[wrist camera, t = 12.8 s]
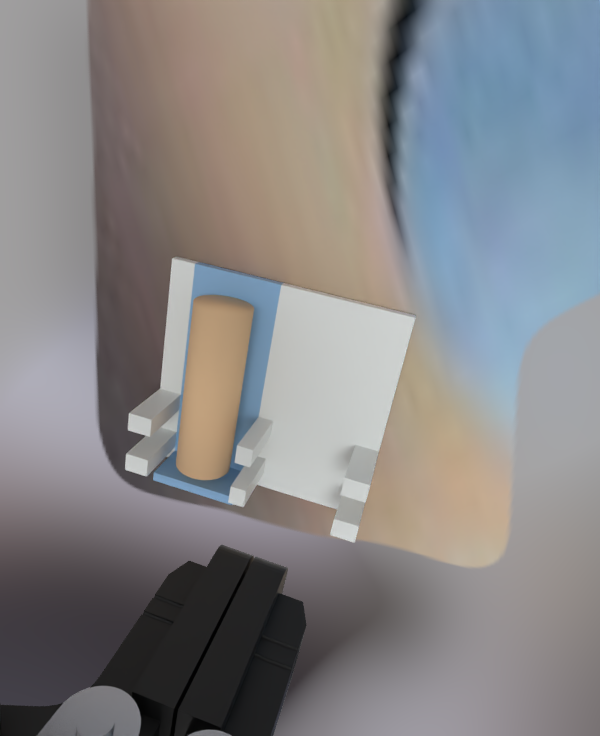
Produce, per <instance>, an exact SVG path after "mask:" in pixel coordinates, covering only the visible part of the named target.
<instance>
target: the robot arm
mask: <svg viewBox="0 0 600 736" xmlns="http://www.w3.org/2000/svg"><path fill="white" fill-rule="evenodd" d="M287 571H288V568H286V567H284V566H281V565H278V564H275V563H272V562H269V561H267V560H264V559H261V558H258V557H255V558H254V557H253V556H252V555H249V554H246V553H244V552H241V551H238V550H235V549H232V548H229V547H227V546H224V545H221V546H220V547H219V548H218V549H217V551H216V553H215V554H214V556H213V557H212V559H211V561H210V563H209V564H208V566H207V567H205V566H202V565H200V564H197V563H194V562H191V561H188V562H187V563H185V564H184V565H182V566H181V567H179V568H178V569H176V570H175V571H173V572H172V573H170V574H169V575H168V576H167V578H166V579H165V581H164V582H163V584H162V585H161V587H160V588H159V590H158V591H157V592H156V594H155V597H154V598H152V600H151V601H150V603H149V604H148V606H147V607H146V609H145V610H144V613H143V615H141V616H140V618H139V619H138V621H137V622H136V624H135V625H134V627H133V628H132V629H131V631H130V633H129V634H128V635H127V637H126V638H125V640H124V641H123V643H122V644H121V646H120V647H119V649H118V650H117V652H116V653H115V655H114V656H113V658H112V659H111V661H110V662H109V664H108V665H107V667H106V668H105V669H104V671H103V672H102V674H101V675H100V677H99V678H98V679H97V681H96V682H95V683H94V684H93V685H92V686H91V687H90V688H87V689H84V690H82V691H80V692H78V693H76V694H75V695H73V696H71V697H70V698H69V699H68V700H66V701H65V702H64V703H61V704H58V705H52V706H40V707H39V706H14V705H0V736H273V735H274V731H275V728H276V725H277V721H278V719H279V716H280V712H281V709H282V706H283V703H284V700H285V697H286V693H287V690H288V687H289V684H290V681H291V678H292V674H293V671H294V667H295V664H296V660H297V656H298V653H299V649H300V646H301V642H302V639H303V635H304V632H305V628H306V620H305V613H304V606H303V602H302V601H299V600H296V599H293V598H291V597H288V596H285V595H283V594H282V592H283V588H284V584H285V580H286V575H287Z"/></svg>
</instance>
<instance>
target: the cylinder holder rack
mask: <svg viewBox="0 0 600 736" xmlns="http://www.w3.org/2000/svg"><path fill="white" fill-rule="evenodd" d="M202 295H223V296H229V297H234V298H238V299H241V300H244V301H246V302H248V303H250V304H251V305H252V306H253V307H254V313H253V320H252V326H251V333H250V339H249V346H248V352H247V359H246V365H245V372H244V379H243V385H242V392H241V398H240V405H239V411H238V418H237V424H236V431H235V437H234V444H233V450H232V457H231V464H230V469H229V471H228V473H227V474H226V475H224V476H223V477H221V478H218V479H214V480H198V479H193V478H190V477H188V476H186V475H184V474H182V473H181V472H180V471H179V470H178V469H177V467H176V457H177V448H178V438H179V429H180V420H181V411H182V401H183V392H184V383H185V374H186V364H187V355H188V346H189V337H190V327H191V318H192V309H193V300H194V299H195V298H196V297H198V296H202ZM415 318H416V315H413V314H409V313H405V312H401V311H397V310H393V309H388V308H384V307H380V306H376V305H372V304H368V303H364V302H360V301H356V300H352V299H348V298H344V297H340V296H335V295H331V294H327V293H323V292H319V291H315V290H311V289H307V288H303V287H299V286H295V285H291V284H287V283H283V282H278V281H274V280H270V279H266V278H262V277H258V276H254V275H250V274H246V273H242V272H238V271H234V270H230V269H225V268H221V267H217V266H213V265H209V264H205V263H201V262H197V261H193V260H189V259H185V258H181V257H174V258H172V266H171V277H170V288H169V299H168V310H167V321H166V332H165V342H164V353H163V364H162V375H161V386H160V389H159V390H158V391H156V392H155V393H154V394H153V395H151V396H150V397H149V398H148V399H146V400H145V401H144V402H142V403H141V404H140V405H139V406H137V407H136V408H135V409H134V410H132V411H131V412H130V413H129V420H128V430H129V431H132V432H135V433H139V434H142V435H145V437H144V438H143V439H142V440H141V441H140V442H139V443H137V444H136V445H135V446H134V447H133V448H132V449H131V450H130V451H129V452H127V453H126V463H125V470H128V471H131V472H134V473H137V474H140V475H143V476H146V477H147V476H148V475H149V474H150V472H151V471H152V470H153V469H154V468H155V467H156V466H157V465H158V464H159V463H160V462H161V461H162V460H163V459H164V458H165V457H168V458H167V459H166V460H165V461H164V462H163V463H162V464H161V466H160V467H159V468H158V469H157V470H156V471H155V472H154V477H153V480H154V481H157V482H161V483H164V484H167V485H170V486H173V487H176V488H179V489H183V490H186V491H189V492H192V493H195V494H198V495H201V496H205V497H208V498H211V499H214V500H217V501H220V502H223V503H227V504H230V505H232V504H234V505H238V506H241V507H244V505H245V504H246V502H247V500H248V499H249V497H250V495H251V494H252V492H253V490H254V489H255V487H256V485H259V486H263V487H266V488H269V489H272V490H275V491H279V492H282V493H285V494H288V495H292V496H295V497H298V498H301V499H304V500H308V501H311V502H314V503H317V504H321V505H324V506H327V507H330V508H334V509H337V512H336V515H335V518H334V521H333V525H332V529H331V533H330V535H332V536H335V537H338V538H341V539H344V540H348V541H351V542H355V539H356V536H357V532H358V528H359V525H360V521H361V517H362V513H363V509H364V505H365V503H366V499H367V496H368V492H369V488H370V485H371V481H372V477H373V473H374V469H375V465H376V461H377V457H378V453H379V449H380V446H381V442H382V438H383V435H384V431H385V427H386V424H387V420H388V416H389V413H390V409H391V405H392V402H393V398H394V394H395V391H396V387H397V384H398V380H399V376H400V373H401V369H402V365H403V362H404V358H405V354H406V351H407V347H408V343H409V340H410V336H411V332H412V329H413V325H414V322H415Z"/></svg>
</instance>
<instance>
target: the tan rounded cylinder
mask: <svg viewBox="0 0 600 736" xmlns="http://www.w3.org/2000/svg"><path fill="white" fill-rule="evenodd" d="M253 313H254V307H253V306H252V305H251V304H250V303H248V302H246V301H244V300H241V299H238V298H234V297H229V296H223V295H202V296H198V297H196V298H195V299H194V300H193V309H192V318H191V327H190V337H189V346H188V355H187V364H186V374H185V383H184V392H183V401H182V411H181V420H180V429H179V438H178V448H177V457H176V467H177V469H178V470H179V471H180V472H181V473H182V474H184V475H186V476H188V477H190V478H193V479H198V480H214V479H218V478H221V477H223V476H224V475H226V474H227V473H228V471H229V469H230V464H231V457H232V450H233V444H234V437H235V431H236V424H237V418H238V411H239V405H240V398H241V392H242V385H243V379H244V372H245V365H246V359H247V352H248V346H249V339H250V333H251V326H252V320H253Z"/></svg>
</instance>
